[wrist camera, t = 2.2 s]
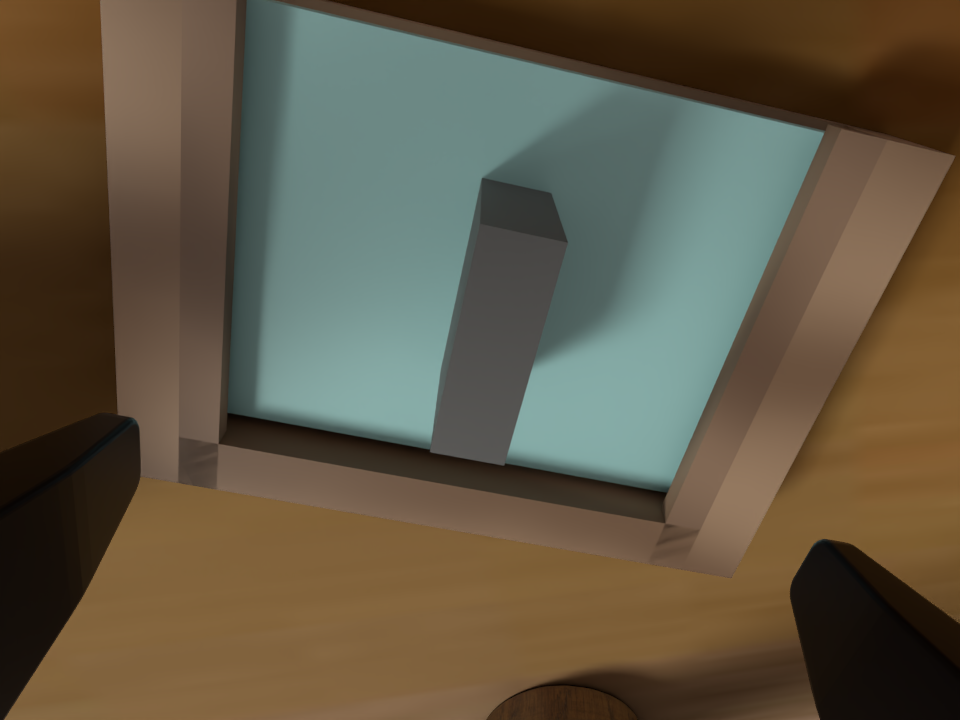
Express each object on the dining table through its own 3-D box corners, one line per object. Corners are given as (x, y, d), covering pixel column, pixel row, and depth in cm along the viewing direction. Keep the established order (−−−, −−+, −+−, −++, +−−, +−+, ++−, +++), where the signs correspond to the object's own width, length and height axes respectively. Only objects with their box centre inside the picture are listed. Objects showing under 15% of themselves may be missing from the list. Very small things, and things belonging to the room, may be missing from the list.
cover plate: (677, 478, 20) (723, 594, 16) (216, 393, 19) (143, 495, 15) (828, 131, 15) (946, 174, 11) (230, -10, 14) (133, -17, 10)
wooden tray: (705, 517, 22) (731, 578, 19) (162, 419, 20) (120, 472, 18) (888, 134, 16) (955, 156, 14) (160, -40, 15) (98, -49, 12)
